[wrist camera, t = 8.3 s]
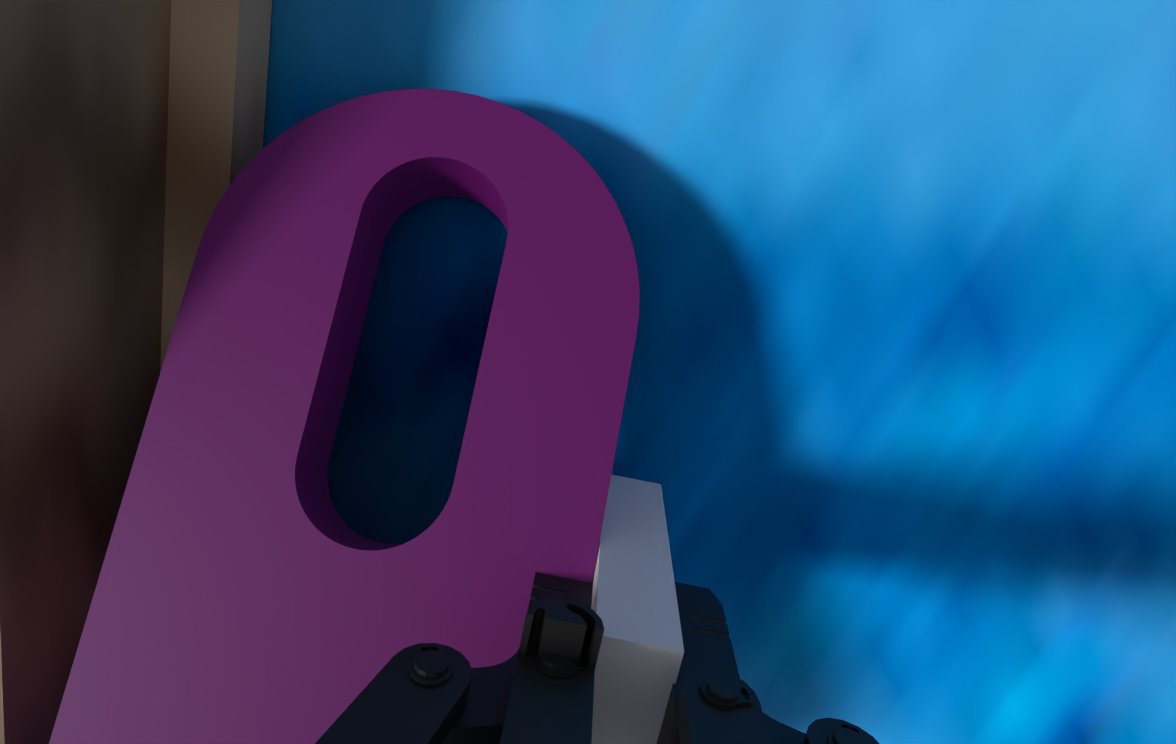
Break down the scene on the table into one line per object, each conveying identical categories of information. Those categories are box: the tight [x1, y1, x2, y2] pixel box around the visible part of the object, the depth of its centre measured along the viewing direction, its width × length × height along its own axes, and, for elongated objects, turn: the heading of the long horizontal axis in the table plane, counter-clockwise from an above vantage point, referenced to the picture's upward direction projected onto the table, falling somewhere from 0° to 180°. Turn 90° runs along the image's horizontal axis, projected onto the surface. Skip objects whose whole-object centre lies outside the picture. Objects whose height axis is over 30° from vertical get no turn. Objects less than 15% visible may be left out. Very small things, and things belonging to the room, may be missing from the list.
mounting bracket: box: [49, 89, 640, 744], centre depth 18 cm, size 9×8×18 cm
